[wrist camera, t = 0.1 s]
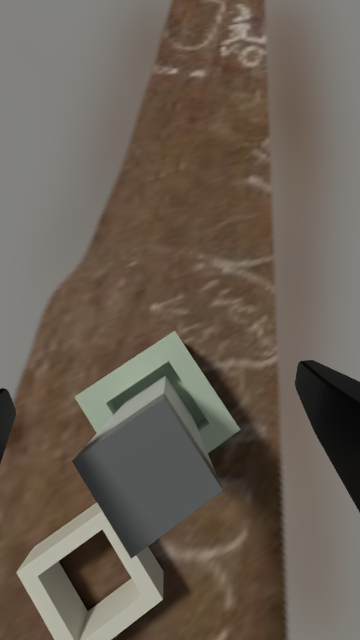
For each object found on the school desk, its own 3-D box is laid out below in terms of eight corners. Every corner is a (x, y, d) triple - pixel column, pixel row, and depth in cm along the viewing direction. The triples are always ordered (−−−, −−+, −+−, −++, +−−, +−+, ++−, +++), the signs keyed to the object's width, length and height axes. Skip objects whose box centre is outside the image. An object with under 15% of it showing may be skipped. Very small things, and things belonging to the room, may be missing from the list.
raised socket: (227, 417, 23) (240, 429, 19) (144, 476, 22) (139, 502, 18) (173, 334, 24) (174, 330, 20) (90, 389, 23) (74, 396, 19)
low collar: (163, 571, 22) (163, 599, 19) (83, 632, 21) (71, 669, 18) (113, 490, 22) (107, 507, 20) (33, 547, 21) (16, 572, 19)
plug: (191, 414, 21) (222, 490, 9) (151, 442, 21) (131, 558, 9) (165, 374, 21) (163, 398, 10) (125, 401, 21) (72, 461, 9)
